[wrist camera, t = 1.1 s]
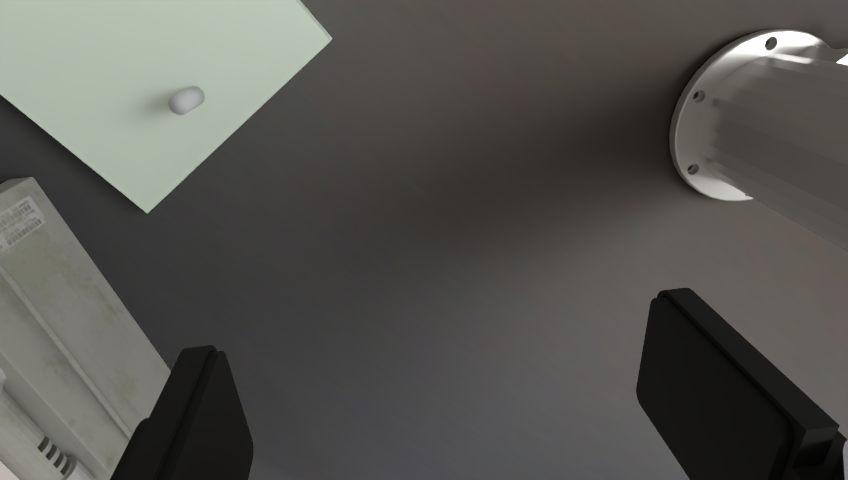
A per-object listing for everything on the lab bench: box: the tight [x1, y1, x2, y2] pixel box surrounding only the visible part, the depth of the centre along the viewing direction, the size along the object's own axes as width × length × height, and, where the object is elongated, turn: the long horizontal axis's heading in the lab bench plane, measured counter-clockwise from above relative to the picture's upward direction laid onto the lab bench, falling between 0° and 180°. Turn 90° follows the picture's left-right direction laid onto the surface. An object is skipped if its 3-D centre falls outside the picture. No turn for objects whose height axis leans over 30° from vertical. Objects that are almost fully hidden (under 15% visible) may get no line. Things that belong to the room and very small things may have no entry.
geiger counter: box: [0, 177, 171, 480], centre depth 35 cm, size 14×6×25 cm
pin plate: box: [0, 0, 333, 214], centre depth 30 cm, size 18×20×4 cm
